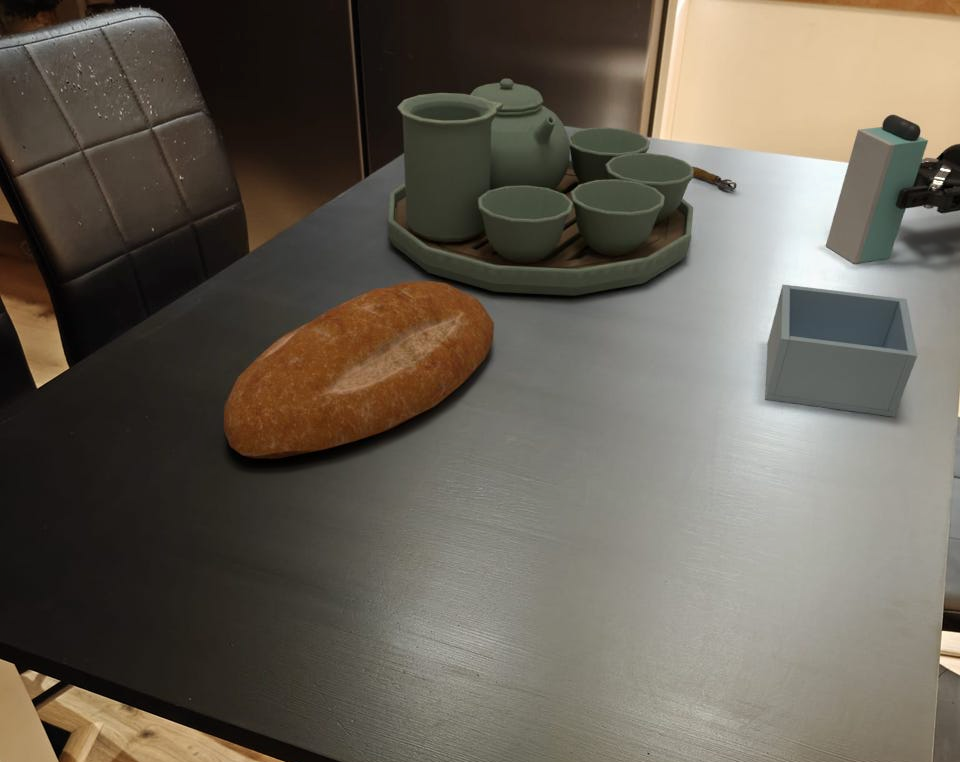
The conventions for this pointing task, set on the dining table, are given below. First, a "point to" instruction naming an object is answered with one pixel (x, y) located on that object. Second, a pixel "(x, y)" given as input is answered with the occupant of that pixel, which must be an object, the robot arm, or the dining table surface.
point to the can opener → (713, 178)
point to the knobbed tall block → (875, 190)
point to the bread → (358, 370)
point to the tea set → (533, 197)
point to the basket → (840, 350)
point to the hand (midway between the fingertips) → (877, 187)
